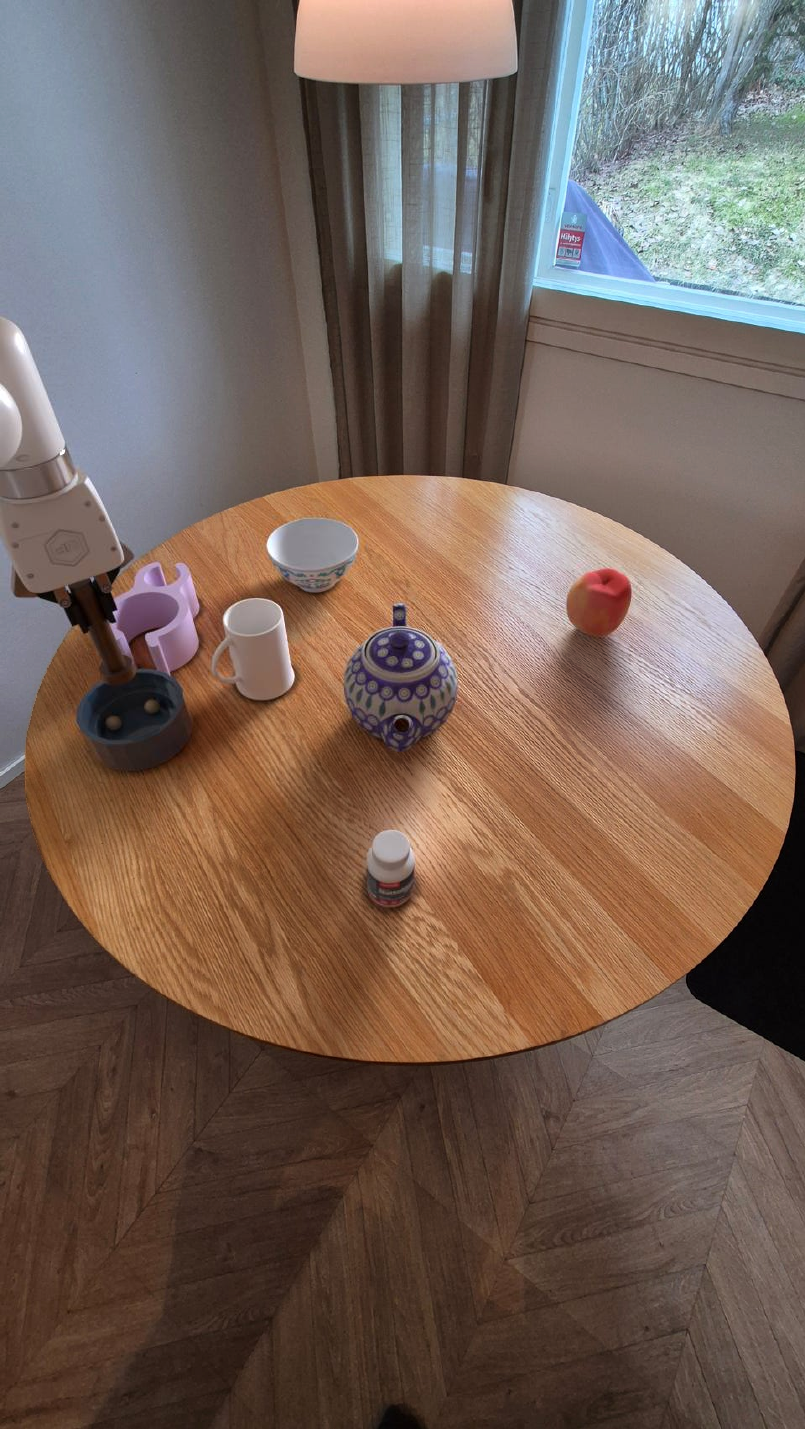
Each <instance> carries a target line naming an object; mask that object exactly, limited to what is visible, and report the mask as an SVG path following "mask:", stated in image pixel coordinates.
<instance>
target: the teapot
mask: <svg viewBox="0 0 805 1429" xmlns="http://www.w3.org/2000/svg"><path fill="white" fill-rule="evenodd" d="M458 688H459V679H458V674H457V669H456V666H455V664H454V662H453V659H452V658H451V656H450V654H449V653H448V651H447V650H446V649H445V647H444V646H443V645H442V644H441V642H439V641H437V640H435V639H434V638H433V637H432V636H431V635H430V634H429V633H427V632H425V631H424V630H422V629H419V628H415V627H411V626H407V606H406V604H405V603H401V602H396V603H394V604H393V605H392V626H388V627H384V628H382V629H379V630H376V631H374V632H373V633H371V634H370V635H369V636H368V637H367V638H366V639H365V641H364V642H363V643H361V644H360V645H359V646H358V647H357V648H356V649H355V651H354V652H353V653H352V655H351V656H350V658H349V659H348V661H347V664H346V667H345V671H344V674H343V693H344V699H345V702H346V705H347V708H348V710H349V712H350V714H351V717H352V719H353V720H354V721H355V722H356V724H357V725H358V726H359V727H360V728H361V729H362V730H364V731H365V732H367V734H369V735H371V736H373V737H375V738H378V739H381V740H383V742H384V743H385V745H386V747H387V748H389V749H390V750H392V751H394V752H397V753H402V752H407V751H408V750H410V749H411V748H412V747H413V746H415V745H416V743H418V741H420V740H422V739H423V738H425V737H428V736H429V735H430V736H431V735H432V734H433V733H435V732H436V731H438V730H439V729H440V728H441V727H442V726H443V725H444V724H445V723H446V722H447V720H448V719H449V718H450V716H451V713H452V712H453V711H454V708H455V705H456V702H457V698H458ZM398 720H401V721H403V720H404V721H408V724H409V725H408V728H407V729H398V728H396V727H395V722H396V721H398Z"/></svg>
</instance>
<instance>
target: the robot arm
mask: <svg viewBox="0 0 805 1429" xmlns="http://www.w3.org/2000/svg"><path fill="white" fill-rule="evenodd" d="M37 367H38V366H37V365H36V362H35V360H34V358H33V355H32V352H31V349H30V347H29V345H28V342H27V340H26V337H25V335H24V333H23V332H22V330H21V329H20V327H18V326H17V325H16V323H14V322H12V321H11V320H9V319H7V318H6V317H4V316H0V541H1V543H2V545H3V547H4V549H5V552H6V554H7V556H8V558H9V560H10V562H11V575H10V576H11V578H10V589H11V592H12V594H13V596H14V597H15V598H19V599H21V598H23V599H25V598H26V599H28V598H29V599H35V598H39V599H41V600H44V601H47V602H50V603H54V604H56V605H59V607H60V608H62V609H63V610H64V612H65V615H66V617H67V619H68V621H69V623H70V625H71V627H76V626H78V627H79V628H80V630H81V632H82V634H83V635H86V634H89V631H90V630H89V628H88V626H87V624H86V621H85V619H84V617H83V615H82V613H81V610H80V608H79V606H78V604H77V602H76V601H75V600H74V598H73V596H72V594H71V592H70V590H69V589H67V588H66V587H68V585H70V584H73V583H76V582H79V581H82V580H85V579H88V578H90V579H91V578H93V580H92V583H93V586H94V588H95V591H96V593H97V596H98V598H99V601H100V603H101V605H102V608H103V610H104V613H105V615H106V617H107V619H108V621H109V623H112V624H113V623H116V619H115V617H114V614H113V612H114V611H117V610H118V609H117V606H116V604H115V601H114V599H115V598H114V597H113V594H112V591H113V589H114V588H113V585H114V582H115V581H116V580H117V577H118V575H119V574H120V572H121V569H123V568H125V567H127V565H128V564H129V563H131V562H132V561H133V560H134V559H135V553H134V552H133V551H132V549H131V548H130V547H129V546H128V545H127V544H126V543H125V542H124V541H123V540H122V539H120V537H118V535H117V533H116V530H115V528H114V525H113V524H112V521H111V518H110V517H109V514H108V512H107V510H106V507H105V505H104V503H103V501H102V499H101V497H100V494H99V493H98V492H97V489H96V488H95V486H94V484H93V483H92V480H91V479H90V477H89V475H87V473H86V472H85V471H84V470H83V469H82V468H81V467H79V466H77V465H75V464H74V462H73V459H72V456H71V454H70V452H69V448H68V446H67V444H66V441H65V438H64V436H63V434H62V431H61V428H60V426H59V425H60V424H59V423H58V420H57V417H56V415H55V411H54V409H53V406H52V404H51V401H50V399H49V396H48V394H47V391H46V389H45V386H44V383H43V381H42V378H41V376H40V372H39V370H38V368H37Z"/></svg>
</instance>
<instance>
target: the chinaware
mask: <svg viewBox="0 0 805 1429" xmlns="http://www.w3.org/2000/svg"><path fill="white" fill-rule="evenodd" d="M265 545H266V546H265V547H266V552H267V555H268V557H269V559H270V561H271V563H272V565H273V566H274V568H275V569H276V571H277V572H278V573H279V574H280V575H281V577H283V579H285V580H286V581H287V582H289V583H291V584H293V585H295V586H298V587H299V588H300V589H301V590H303V591H304V592H308V593H322V592H326V591H328V590H330V589H331V588H333V586H335V584H336V583H337V582H339V581H340V580H342V579H343V578H344V577H345V576H347V574H348V572H349V571H350V570H351V568H352V566H353V564H354V562H355V560H356V556H357V554H358V550H359V538H358V535H357V534H356V531H355V530H354V529H352V527H350V526H349V525H348V524H346V523H344V522H342V521H339V520H336V519H331V518H325V517H305V518H299V519H295V520H292V521H289V522H285V523H284V524H282V525H280V526H279V527H277V528H276V529H274V530H273V531H272V532H271V534H270V535H268V538H267V540H266V544H265Z"/></svg>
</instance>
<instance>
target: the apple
mask: <svg viewBox="0 0 805 1429" xmlns="http://www.w3.org/2000/svg"><path fill="white" fill-rule="evenodd" d="M632 593H633V592H632V584H631V581H630V579H629V578H628V577H627V576H626V575H625V574H623V573H622V572H620V571H618V570H616V569H614V568H611V567H609V568H608V567H605V568H600V569H596V570H592V571H588V572H585V573H584V574H583V575H581V576H580V577H579V578H578V579H577V580H575V582H574V583H573V584H571V587H570V588H569V591H568V593H567V595H566V602H565V609H566V614H567V617H568V620H569V622H570V623H571V625H572V626H573V627H574V628H576V629H577V630H578V631H580V632H582V633H583V634H586V635H588V636H590V637H595V638H604V637H607V636H609V635H611V634H612V633H613V632H615V631H616V630H617V629H618V628H619V627H620V625H621V624H622V623H623V621H624V620H625V618H626V616H627V614H628V611H629V609H630V606H631V603H632V602H631V601H632V596H633V595H632Z"/></svg>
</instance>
